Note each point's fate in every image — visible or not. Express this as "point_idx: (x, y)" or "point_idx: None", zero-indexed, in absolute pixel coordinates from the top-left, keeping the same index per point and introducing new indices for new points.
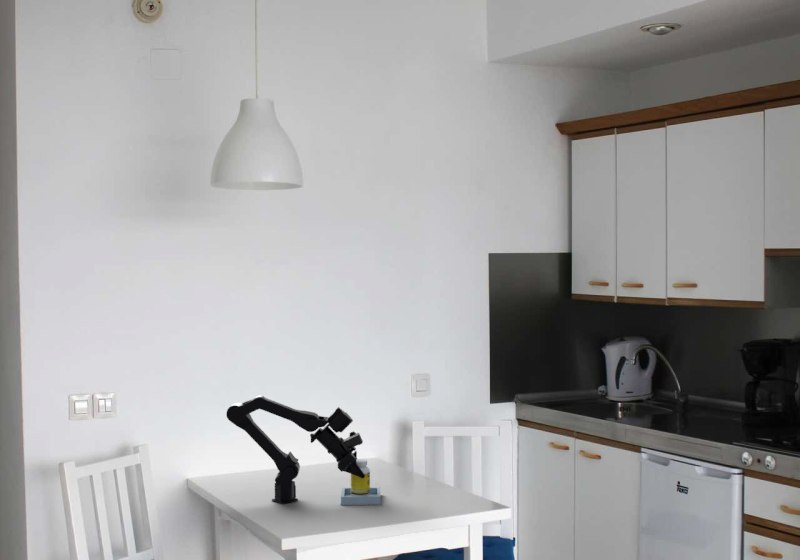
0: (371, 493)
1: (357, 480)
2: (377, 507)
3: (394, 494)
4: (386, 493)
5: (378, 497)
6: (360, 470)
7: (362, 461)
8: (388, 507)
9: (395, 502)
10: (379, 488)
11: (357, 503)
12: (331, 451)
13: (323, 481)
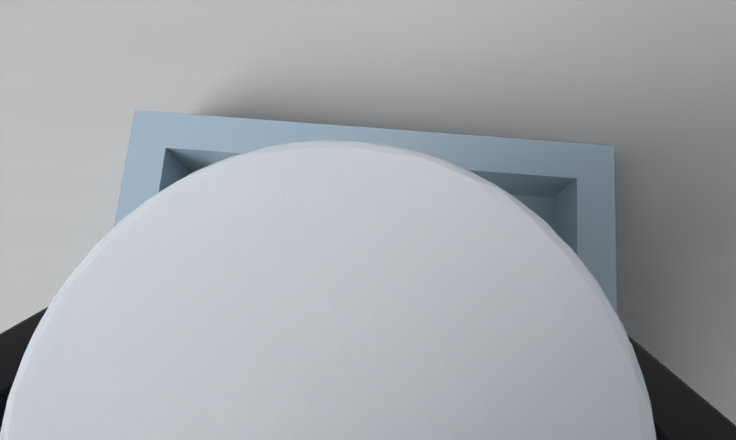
0: None
1: None
2: (703, 216)
3: (180, 3)
4: (119, 74)
5: (610, 172)
6: (730, 435)
7: (537, 352)
8: (704, 109)
9: (509, 26)
10: (201, 121)
11: None
12: None
13: None
